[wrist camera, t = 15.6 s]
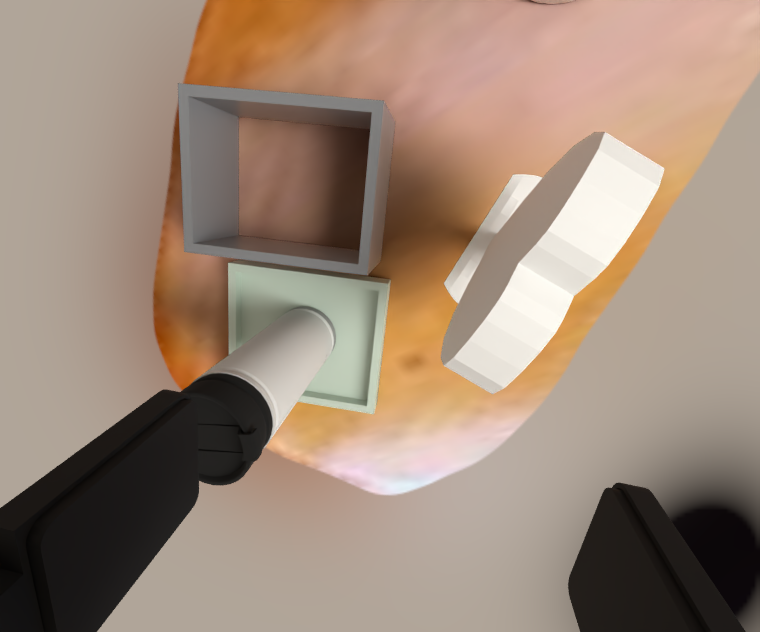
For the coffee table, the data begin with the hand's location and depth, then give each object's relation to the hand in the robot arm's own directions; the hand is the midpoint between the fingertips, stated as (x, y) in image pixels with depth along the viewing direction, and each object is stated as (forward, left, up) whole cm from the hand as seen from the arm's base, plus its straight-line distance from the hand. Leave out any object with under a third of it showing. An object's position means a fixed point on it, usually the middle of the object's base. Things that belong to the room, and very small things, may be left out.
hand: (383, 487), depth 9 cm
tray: (+9, -11, -32) cm, 35 cm away
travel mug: (+8, -11, -31) cm, 34 cm away
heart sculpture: (-3, +7, -32) cm, 33 cm away
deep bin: (-6, -12, -32) cm, 34 cm away
